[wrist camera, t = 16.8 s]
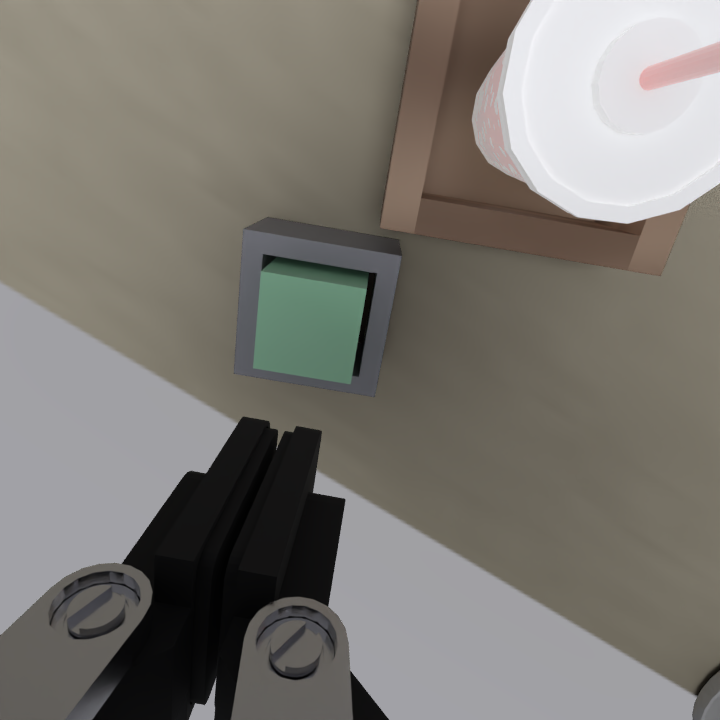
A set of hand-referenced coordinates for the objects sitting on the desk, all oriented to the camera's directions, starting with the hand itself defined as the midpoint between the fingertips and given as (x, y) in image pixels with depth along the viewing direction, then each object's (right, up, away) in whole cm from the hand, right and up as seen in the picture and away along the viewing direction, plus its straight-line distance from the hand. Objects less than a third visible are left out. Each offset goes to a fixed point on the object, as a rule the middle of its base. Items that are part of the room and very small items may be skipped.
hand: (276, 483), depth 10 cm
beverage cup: (+8, +12, +9) cm, 17 cm away
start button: (0, +6, +12) cm, 13 cm away
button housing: (0, +6, +13) cm, 14 cm away
